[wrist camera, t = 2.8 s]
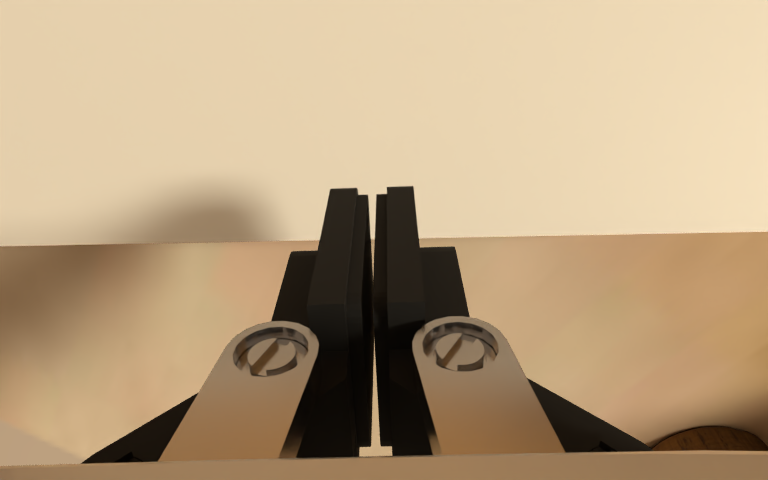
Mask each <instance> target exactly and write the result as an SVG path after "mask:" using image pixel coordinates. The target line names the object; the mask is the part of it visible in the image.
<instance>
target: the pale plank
mask: <svg viewBox="0 0 768 480" xmlns="http://www.w3.org/2000/svg"><path fill="white" fill-rule="evenodd" d="M399 186H413V187H414V197H415V207H416V217H417V226H418V236H419V238H460V237H512V236H563V235H615V234H667V233H719V232H768V0H0V246H46V245H98V244H149V243H201V242H253V241H305V240H320V236H321V232H322V227H323V222H324V217H325V212H326V207H327V202H328V197H329V192H330V189H336V188H357V189H358V195H368V199H369V217H370V235H371V239H375V219H376V194H387V187H399Z"/></svg>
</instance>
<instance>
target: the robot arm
mask: <svg viewBox="0 0 768 480" xmlns="http://www.w3.org/2000/svg"><path fill="white" fill-rule="evenodd" d="M374 339H375V357H376V374H377V392H378V409H379V427H380V444H381V446H392V454H393V456H368V457H359V447H371V431H372V395H373V359H374ZM0 480H768V451H713V450H697V451H654V450H652V449H651V448H650V447H648V446H647V445H645V444H644V443H642V442H641V441H639V440H637V439H635V438H634V437H632V436H630V435H628V434H627V433H625V432H623V431H621V430H619V429H618V428H616V427H614V426H612V425H610V424H609V423H607V422H605V421H603V420H601V419H600V418H598V417H596V416H594V415H592V414H591V413H589V412H587V411H585V410H583V409H582V408H580V407H578V406H576V405H574V404H573V403H571V402H569V401H567V400H566V399H564V398H562V397H560V396H558V395H557V394H555V393H553V392H551V391H549V390H548V389H546V388H544V387H542V386H540V385H539V384H537V383H535V382H533V381H531V380H530V379H528V378H526V376H525V374H524V372H523V370H522V368H521V366H520V364H519V362H518V360H517V358H516V356H515V355H514V353H513V351H512V349H511V347H510V345H509V343H508V341H507V339H506V338H505V337H504V335H503V334H502V333H501V332H500V330H498V329H497V328H495V327H494V326H492V325H491V324H489V323H487V322H484V321H482V320H479V319H476V318H470V317H469V312H468V307H467V302H466V298H465V293H464V288H463V283H462V278H461V273H460V269H459V264H458V259H457V254H456V250H455V247H424V248H420V246H419V236H418V226H417V217H416V207H415V197H414V187H413V186H399V187H387V194H376V219H375V249H374V278H373V271H372V253H371V235H370V217H369V199H368V195H358V189H357V188H336V189H330V192H329V197H328V202H327V207H326V212H325V217H324V222H323V227H322V232H321V236H320V241H319V246H318V251H293V252H291V254H290V257H289V260H288V264H287V267H286V271H285V275H284V278H283V282H282V285H281V289H280V292H279V296H278V299H277V303H276V307H275V310H274V314H273V317H272V321H271V322H266V323H262V324H257V325H255V326H253V327H250V328H248V329H246V330H244V331H242V332H241V333H240V334H238V335H237V336H235V337H234V338H233V339H232V340H231V341H230V343H229V344H228V345H227V346H226V347H225V349H224V351H223V352H222V354H221V356H220V358H219V359H218V361H217V363H216V364H215V366H214V368H213V369H212V371H211V373H210V374H209V376H208V378H207V379H206V381H205V383H204V385H203V386H202V388H201V390H200V391H199V393H197V394H195V395H194V396H192V397H190V398H188V399H187V400H185V401H183V402H182V403H180V404H178V405H177V406H175V407H173V408H171V409H170V410H168V411H166V412H165V413H163V414H161V415H160V416H158V417H156V418H154V419H153V420H151V421H149V422H148V423H146V424H144V425H143V426H141V427H139V428H137V429H136V430H134V431H132V432H131V433H129V434H127V435H126V436H124V437H122V438H120V439H119V440H117V441H115V442H114V443H112V444H110V445H109V446H107V447H105V448H103V449H102V450H100V451H98V452H97V453H95V454H93V455H92V456H91V457H89V458H88V459H86V460H85V461H84V462H82V463H81V464H58V465H23V466H22V465H21V466H0Z"/></svg>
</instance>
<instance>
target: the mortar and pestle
mask: <svg viewBox="0 0 768 480" xmlns="http://www.w3.org/2000/svg"><path fill="white" fill-rule="evenodd" d="M652 450H654V451H697V450H713V451H768V447H767V446H766V445H765V443H764V442H763V441H762V440H761V439H759V438H758V437H757V436H755V435H753V434H751V433H749V432H746V431H742V430H737V429H733V428H730V427H703V428H697V429H692V430H688V431H685V432H682V433H679V434H676V435H674V436H671V437H669V438H667V439H665V440H664V441H662V442H661V443H659V444H658V445H656V446H655V447H654V448H653V449H652Z"/></svg>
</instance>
